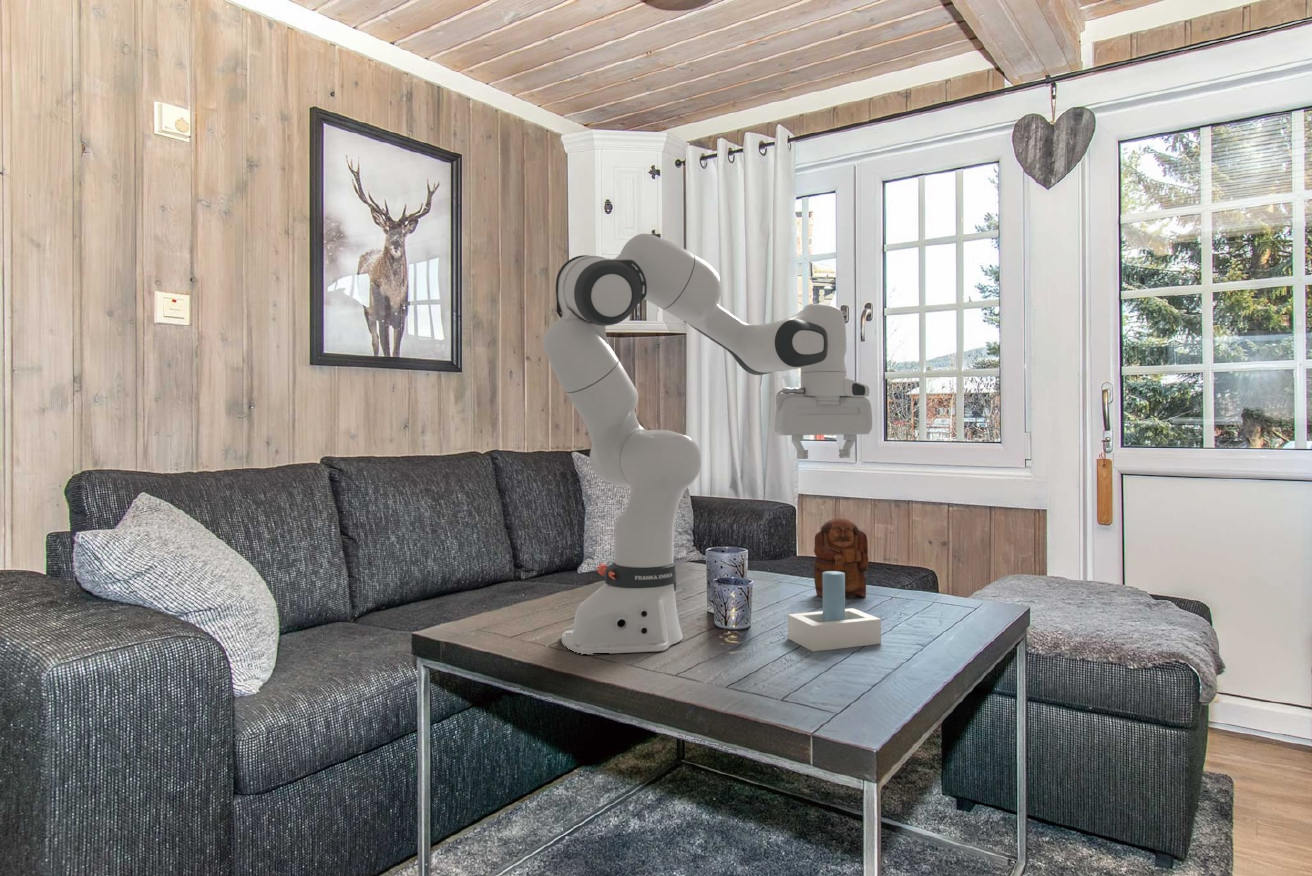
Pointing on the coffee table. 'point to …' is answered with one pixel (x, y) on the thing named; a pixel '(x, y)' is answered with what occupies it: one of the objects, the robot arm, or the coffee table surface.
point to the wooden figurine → (842, 555)
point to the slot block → (834, 630)
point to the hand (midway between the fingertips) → (823, 458)
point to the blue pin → (833, 596)
